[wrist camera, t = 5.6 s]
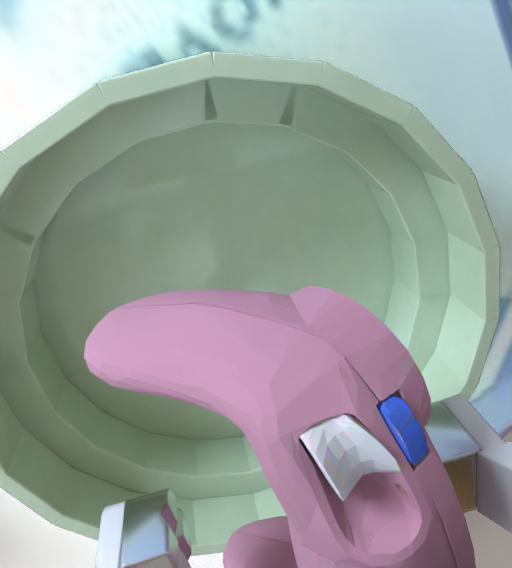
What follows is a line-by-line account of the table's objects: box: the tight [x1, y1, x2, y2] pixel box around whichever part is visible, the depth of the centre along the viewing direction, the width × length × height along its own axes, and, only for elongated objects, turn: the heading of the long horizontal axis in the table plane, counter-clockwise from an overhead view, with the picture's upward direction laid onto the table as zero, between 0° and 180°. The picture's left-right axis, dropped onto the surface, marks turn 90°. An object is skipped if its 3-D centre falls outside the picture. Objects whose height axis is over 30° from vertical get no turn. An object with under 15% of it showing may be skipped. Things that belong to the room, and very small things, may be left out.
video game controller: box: [84, 286, 476, 568], centre depth 11 cm, size 10×5×7 cm, turn 20°
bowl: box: [0, 51, 500, 556], centre depth 18 cm, size 18×18×5 cm
